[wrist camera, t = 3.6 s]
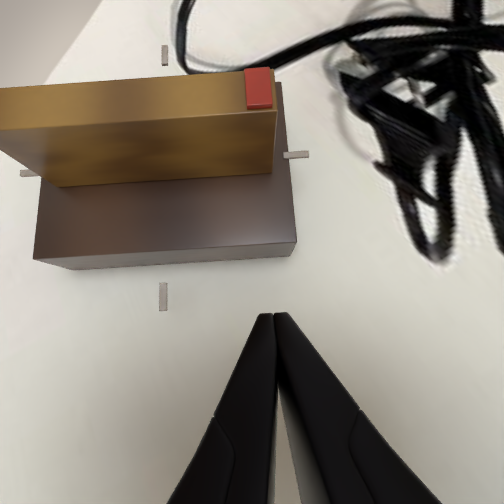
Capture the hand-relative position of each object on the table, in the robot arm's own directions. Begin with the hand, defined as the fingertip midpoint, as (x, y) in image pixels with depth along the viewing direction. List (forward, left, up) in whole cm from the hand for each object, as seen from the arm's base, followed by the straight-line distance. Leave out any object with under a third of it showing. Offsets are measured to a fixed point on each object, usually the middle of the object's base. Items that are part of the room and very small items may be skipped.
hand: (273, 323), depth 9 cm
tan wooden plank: (+3, +10, -6) cm, 12 cm away
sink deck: (+3, +10, -10) cm, 14 cm away
